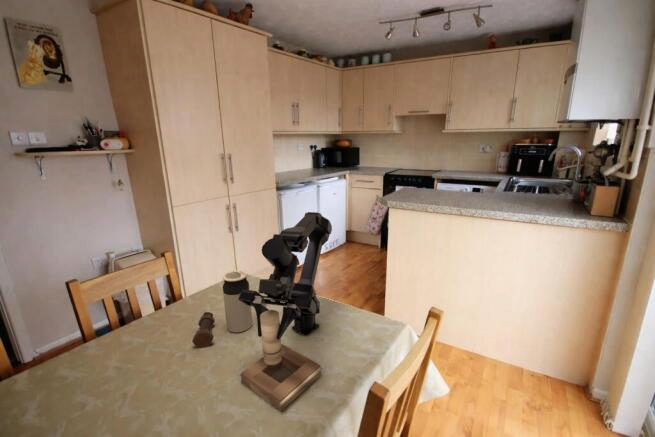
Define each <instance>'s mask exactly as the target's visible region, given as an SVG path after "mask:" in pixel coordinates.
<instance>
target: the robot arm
mask: <svg viewBox="0 0 655 437" xmlns="http://www.w3.org/2000/svg"><path fill="white" fill-rule="evenodd" d="M332 231H333V225H332V223H331V221H330V220H329V219H328V218H326V217H324V216H323V215H322V213H319V212H318V211H317V212H314V211H307V212H305V213H304V216H303V217H302V218H301V219H300V220H299V221H298V222H297V223H296V224H295V225H294V226H293V227H287V228H285V229H283V230H281V231H280V233H278V234H277V233H273V236H272V238H270V239H268V240H266V241H265V242H264V244H263V245H262V246H261V254H262V256H263V257H264V258H265V259H266V260H267V261H268V263H269V264H271V266H272V267H274V268H273V272H272V273H270V275H269V276H268V277H269V278H260V279H259V285H258V291H256V290H252V289H249V290H243V291H242V292H241V293H240V295H239V298H238V300H239V301H241V302H242V303H244V304H246V305H248V306H251V308H252V307H253V308H254V310H255V314H256V321H257V322H256V323H257V324H256V325H257V326H256V327H257V336H258V337H260V338H262V333H261V322H260V315H261V313H263V312H265V311H268V310H270V309H269V308H267V305H273V306H279V307H282V316H281V320H280V326H279V330H278V334H277V339H278V340H280V338H281V339H282V337H283V335H284V334H285V332H286V331H287V329H288V328H289V326H290V325H291V324H292V323H294V324H293V325H292V326H291V330H293V331H295V332H297V333H299V334H301V335H303V336H308V335H310V334H311V333H312V332H314V331H315V330H317V329H319V327H320V324H318V323H316V315H318V314H320V312H321V311H320V309H321V308H320V307H321V303H320V300H319V299H318V298H317V293H316V289H315V287H314V286H315V285H314V284H315V280H316V275H317V271H318V266H319V262H320V258H321V252H322V249H323V248H322V247H323V246H324V245H325V244H326V243H328V241H329V238H330V235H331V234H332ZM305 249H306V253H305V257H304V261H303V265H302V268H301V273H300V277H299V279H298V281H297V282H295V278H296V274H297V270H298V266H299V265H300V260H299V258H298V256H297V254H294V253H303V252H304V251H305ZM262 294H264V295H262Z"/></svg>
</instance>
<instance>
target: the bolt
mask: <svg viewBox="0 0 655 437" xmlns="http://www.w3.org/2000/svg"><path fill="white" fill-rule="evenodd" d="M197 324H198V326H199V330H196V332H195V334H194V336H193V338H192V341H191V342H192V343H193V345H194V346H195V347H196V348H197V349H204V348H208V347H210V346H211V344H212V342H213V339H214V334H213V333H212V332H211V330H212V329H213V326H214V324H215V317H214V314H213V313H212V312H210V311H205V312H203V314H202V315H201V317H200V319H199V321H198V323H197Z"/></svg>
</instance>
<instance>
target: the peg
mask: <svg viewBox="0 0 655 437" xmlns="http://www.w3.org/2000/svg"><path fill="white" fill-rule="evenodd" d="M260 322H261V333H262V336H261V342H262V353H263V354H262V356H263V357H264V362H265V363H266V364H268V365H275V364H277V363H279V362H280V361H281V360H282V346H281V344H282V337H281V338H280V340H278V339H277V334H278V330H279V326H280V323H281V320H280V312H279V311H278V310H275V309H269V310H268V311H265V312H263V313H261V315H260Z"/></svg>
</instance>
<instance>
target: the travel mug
mask: <svg viewBox="0 0 655 437" xmlns="http://www.w3.org/2000/svg"><path fill="white" fill-rule="evenodd" d="M247 276H248V273H247V271H245V270H239V269H238V270H232V271H229V272H226V273H224V274H223V275H222V280H223V284H222V293H223V301H224V313H225V322H226V329H227V330H228V331H229V332H231V333H241V332H245V331H247V330H249V329H250V328H251V327H252V326H253V318H252V317H253V316H252V306H248V305H246V304H244V303H242V302H241V301H239V300H238V298H239V295H240V293H241V292H242V291H243V290H250V283H249V281H248V279H247Z"/></svg>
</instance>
